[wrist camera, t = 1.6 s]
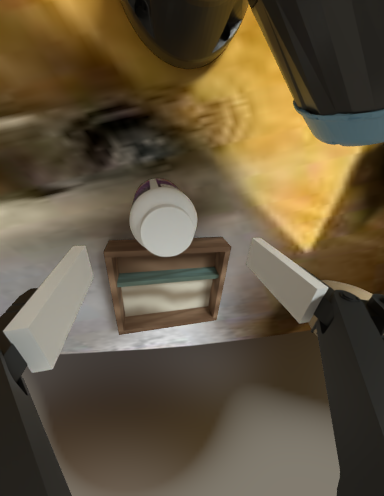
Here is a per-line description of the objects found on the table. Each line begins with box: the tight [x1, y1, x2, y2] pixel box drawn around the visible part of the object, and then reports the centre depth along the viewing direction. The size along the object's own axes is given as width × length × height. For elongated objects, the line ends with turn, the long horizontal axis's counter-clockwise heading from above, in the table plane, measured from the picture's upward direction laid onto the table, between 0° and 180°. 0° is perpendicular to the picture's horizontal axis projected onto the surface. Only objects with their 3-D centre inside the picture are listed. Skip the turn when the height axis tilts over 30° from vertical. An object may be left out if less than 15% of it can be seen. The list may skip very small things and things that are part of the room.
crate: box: [104, 237, 231, 335], centre depth 36 cm, size 20×22×4 cm
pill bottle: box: [129, 178, 197, 257], centre depth 23 cm, size 8×8×14 cm
